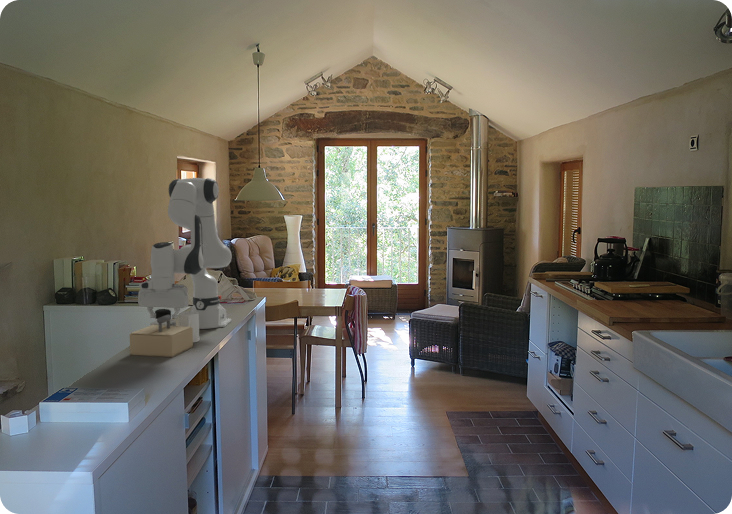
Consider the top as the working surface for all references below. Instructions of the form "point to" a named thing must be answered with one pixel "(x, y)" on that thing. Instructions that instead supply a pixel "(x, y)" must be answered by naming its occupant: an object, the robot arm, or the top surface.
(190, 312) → the mug
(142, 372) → the top surface
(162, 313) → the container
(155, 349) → the carton
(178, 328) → the near flap
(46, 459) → the top surface
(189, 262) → the robot arm
